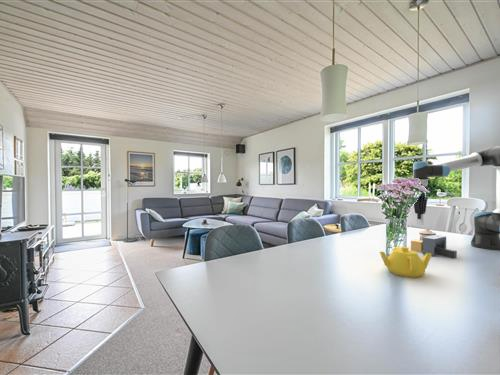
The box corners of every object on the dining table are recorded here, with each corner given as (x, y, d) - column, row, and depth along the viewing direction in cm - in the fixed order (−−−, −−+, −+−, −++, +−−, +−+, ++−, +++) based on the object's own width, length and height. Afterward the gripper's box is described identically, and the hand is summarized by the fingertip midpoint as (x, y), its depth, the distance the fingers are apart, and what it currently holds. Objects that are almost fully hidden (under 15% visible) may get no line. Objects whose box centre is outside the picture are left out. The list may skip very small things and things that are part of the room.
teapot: (416, 282, 104) (416, 254, 104) (377, 271, 118) (377, 246, 118) (432, 273, 114) (432, 248, 114) (395, 264, 127) (394, 241, 127)
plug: (416, 248, 158) (416, 239, 158) (458, 257, 139) (457, 246, 139) (410, 250, 155) (410, 240, 155) (453, 258, 136) (452, 248, 136)
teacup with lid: (416, 245, 166) (416, 228, 166) (424, 243, 170) (423, 227, 170) (436, 249, 155) (436, 231, 155) (443, 247, 159) (443, 229, 159)
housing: (434, 250, 152) (434, 234, 152) (446, 253, 147) (446, 236, 147) (422, 254, 146) (422, 237, 145) (434, 256, 140) (434, 239, 140)
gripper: (420, 186, 146) (420, 225, 146) (432, 186, 152) (432, 224, 152) (407, 186, 153) (407, 224, 153) (419, 186, 159) (419, 222, 159)
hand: (420, 224), depth 153 cm, fingers closed
